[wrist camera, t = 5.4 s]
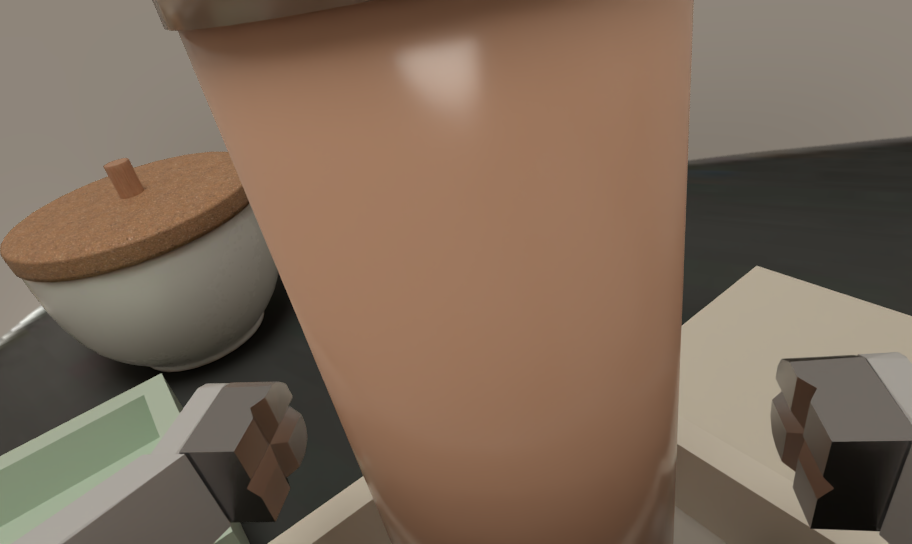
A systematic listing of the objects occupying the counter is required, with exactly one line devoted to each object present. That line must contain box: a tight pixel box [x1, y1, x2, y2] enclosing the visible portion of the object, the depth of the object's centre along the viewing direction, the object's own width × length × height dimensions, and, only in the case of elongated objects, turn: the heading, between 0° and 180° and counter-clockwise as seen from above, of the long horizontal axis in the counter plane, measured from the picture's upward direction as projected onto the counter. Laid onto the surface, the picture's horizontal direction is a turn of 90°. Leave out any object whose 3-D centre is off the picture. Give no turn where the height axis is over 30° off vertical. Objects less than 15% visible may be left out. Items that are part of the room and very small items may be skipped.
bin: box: [268, 266, 912, 544], centre depth 15 cm, size 22×10×4 cm, turn 127°
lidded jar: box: [0, 152, 278, 372], centre depth 27 cm, size 11×11×9 cm
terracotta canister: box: [152, 0, 694, 544], centre depth 9 cm, size 5×5×15 cm
